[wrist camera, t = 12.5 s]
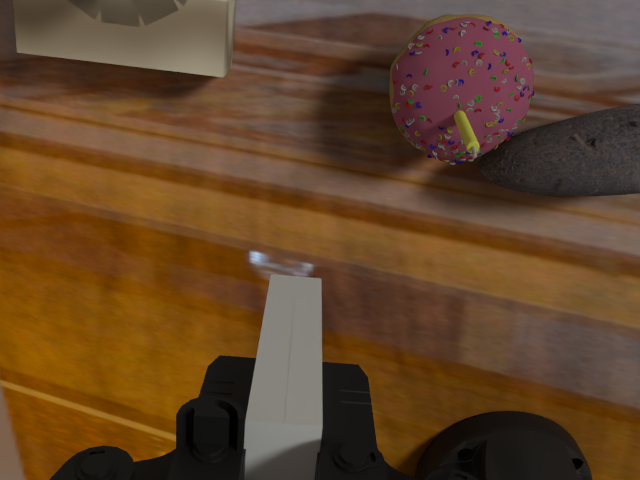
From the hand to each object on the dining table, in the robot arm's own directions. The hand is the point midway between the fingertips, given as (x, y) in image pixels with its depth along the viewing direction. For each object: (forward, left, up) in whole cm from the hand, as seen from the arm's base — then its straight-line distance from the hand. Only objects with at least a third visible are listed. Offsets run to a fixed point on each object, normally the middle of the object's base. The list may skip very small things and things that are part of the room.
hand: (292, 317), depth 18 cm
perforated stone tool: (+1, -19, -25) cm, 31 cm away
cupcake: (+4, -9, -25) cm, 27 cm away
